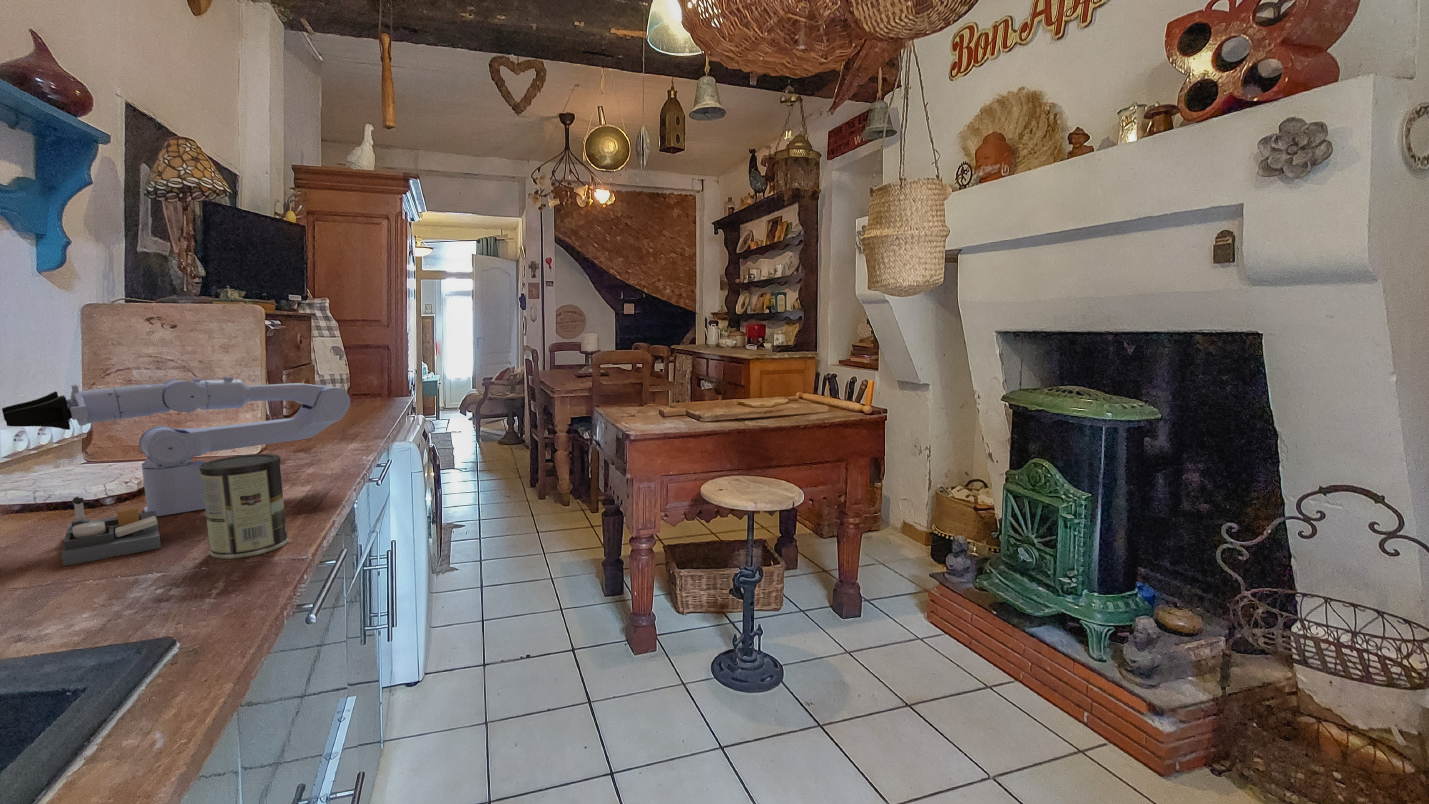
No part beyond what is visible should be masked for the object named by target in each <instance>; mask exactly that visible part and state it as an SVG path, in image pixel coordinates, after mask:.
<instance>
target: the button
mask: <svg viewBox="0 0 1429 804" xmlns="http://www.w3.org/2000/svg"><path fill="white" fill-rule="evenodd" d="M72 529H73V536H74V538H85V537H91V536H97V535H101V534H104V533H105V532H106V530H105V522H102V521H97V522H88V523H83V524H79V525H76V526H74V527H72Z"/></svg>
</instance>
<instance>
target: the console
mask: <svg viewBox="0 0 1429 804" xmlns="http://www.w3.org/2000/svg"><path fill="white" fill-rule="evenodd" d="M138 514H139V520H143V519H146V518H149V517H152V516H155V517H156V511H151V512H145V511H144V512H138ZM156 519H157V520H158V516H157V517H156ZM97 521H102V522H105V530H106V532H105V533H104V534H101V535H97V536H91V537H85V538H74V536H73V529H72V527H74V526H76V525H79V524H83V523H88V522H97ZM122 526H124V525H122ZM118 527H121V526H119V524H118V516H112V517H107V518H101V519H94V520H90V518H84V519H77V520H76V519H75V520H72V522H71V523H69V524H68V528H67V531H66V533H65V536H64V540H63V545H62V546H63V547H62V550H61V556H62V557H61V558H62V564H63V566H64V567H65V566H71V565H76V564H81V563H82V564H83V563H87V562H92V561H97V560H98V561H99V560H104V558H105V559H108V558H107V557H110V558H114V557H113V556H116V557H120V555H121V556H125V555H132V554H137V553H141V552H148V551H153V550H159V549H162V547H161V537H160V536H161V535H160V531H159V524H158V522H157V525H154V526H151V527H148V528H145V529H142V530H138V531H135V532H132V533H129V534H126V535H123V536H120V537H117V536H116V534H115V528H118Z"/></svg>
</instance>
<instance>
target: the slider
mask: <svg viewBox="0 0 1429 804" xmlns="http://www.w3.org/2000/svg"><path fill="white" fill-rule="evenodd" d="M138 513H139V508H138V503H134V504H128V505H122V506H121V505H120V506H117V508H116V517H118V524H119V526H122V525H127V524H130V523H133V522H136V521H139V514H138Z"/></svg>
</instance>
